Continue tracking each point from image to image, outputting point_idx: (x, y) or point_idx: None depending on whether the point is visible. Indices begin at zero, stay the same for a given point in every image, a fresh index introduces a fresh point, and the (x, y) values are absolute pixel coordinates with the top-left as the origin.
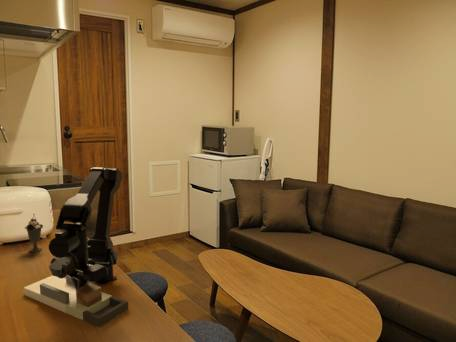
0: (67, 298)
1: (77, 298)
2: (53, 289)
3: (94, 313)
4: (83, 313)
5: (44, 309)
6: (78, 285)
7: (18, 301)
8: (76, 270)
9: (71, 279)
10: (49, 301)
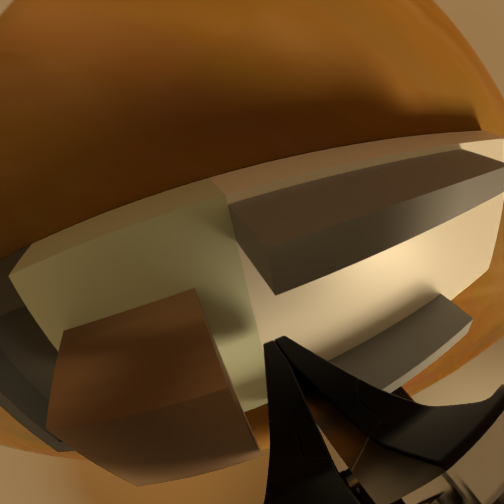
0: (249, 245)
1: (184, 321)
2: (444, 194)
3: None
4: (5, 274)
5: (354, 99)
6: (284, 417)
7: (466, 84)
8: (416, 495)
9: (402, 400)
10: (388, 147)
